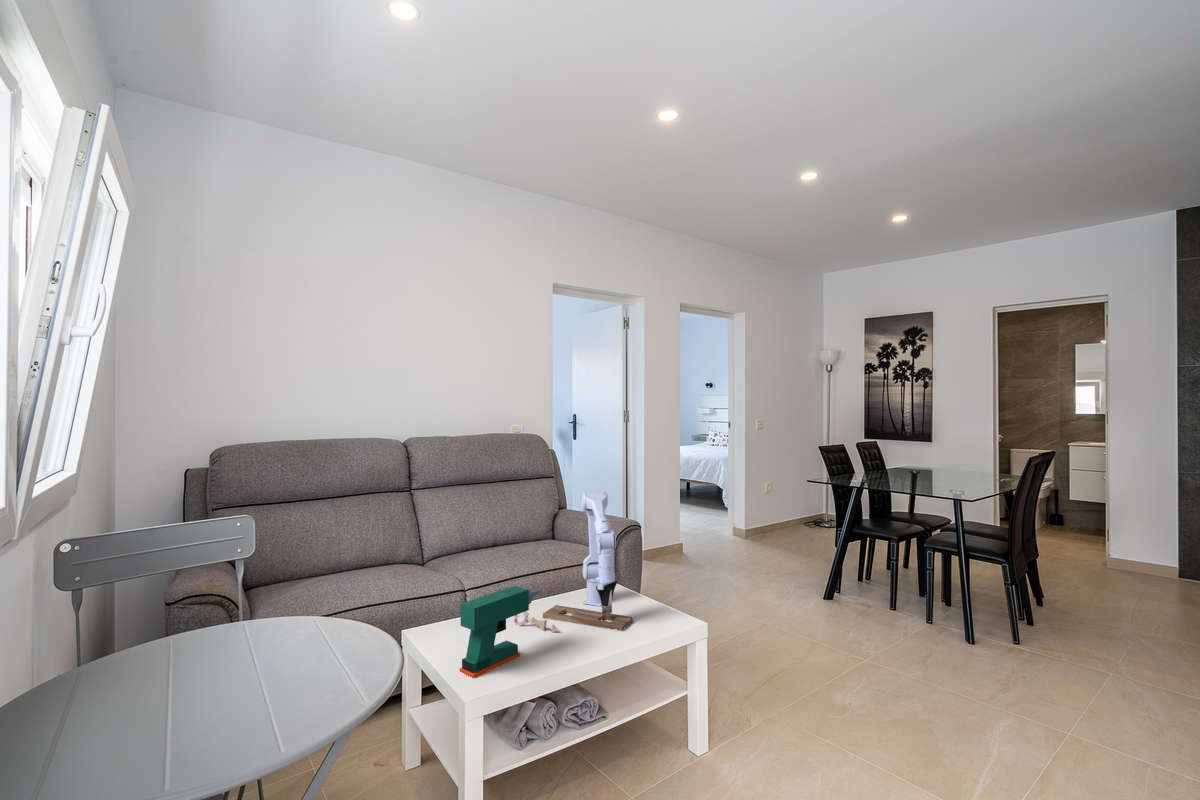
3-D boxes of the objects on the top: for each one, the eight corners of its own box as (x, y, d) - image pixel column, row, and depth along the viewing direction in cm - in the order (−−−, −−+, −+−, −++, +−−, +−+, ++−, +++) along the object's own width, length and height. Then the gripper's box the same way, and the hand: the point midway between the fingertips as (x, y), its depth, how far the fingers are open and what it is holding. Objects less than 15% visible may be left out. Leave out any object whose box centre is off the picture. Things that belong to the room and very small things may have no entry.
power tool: (535, 637, 194) (535, 578, 194) (550, 642, 190) (550, 582, 190) (458, 671, 169) (457, 603, 170) (473, 678, 165) (472, 608, 165)
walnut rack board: (556, 608, 221) (555, 605, 221) (632, 621, 208) (632, 616, 208) (542, 617, 212) (542, 613, 212) (622, 630, 199) (622, 626, 199)
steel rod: (604, 609, 209) (604, 587, 209) (613, 611, 208) (613, 589, 208) (600, 613, 206) (600, 590, 206) (609, 614, 204) (609, 592, 204)
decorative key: (557, 642, 197) (511, 623, 206) (559, 641, 198) (513, 622, 207) (560, 623, 196) (514, 604, 206) (562, 622, 197) (516, 603, 207)
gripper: (602, 560, 215) (602, 596, 215) (589, 570, 201) (589, 609, 201) (620, 561, 213) (620, 598, 213) (608, 572, 199) (608, 611, 199)
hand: (606, 603), depth 207 cm, fingers closed on steel rod, 4 cm apart
